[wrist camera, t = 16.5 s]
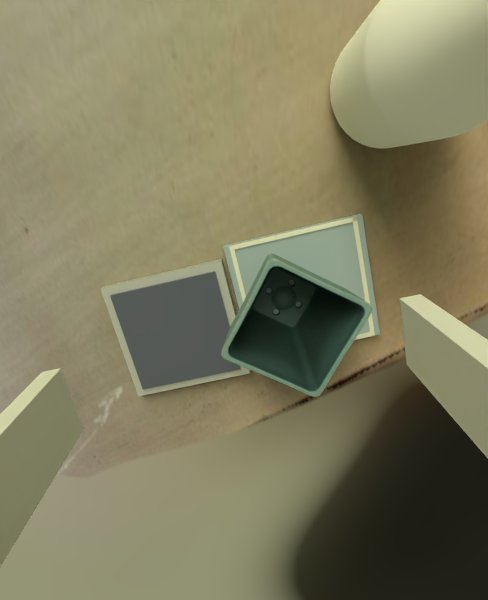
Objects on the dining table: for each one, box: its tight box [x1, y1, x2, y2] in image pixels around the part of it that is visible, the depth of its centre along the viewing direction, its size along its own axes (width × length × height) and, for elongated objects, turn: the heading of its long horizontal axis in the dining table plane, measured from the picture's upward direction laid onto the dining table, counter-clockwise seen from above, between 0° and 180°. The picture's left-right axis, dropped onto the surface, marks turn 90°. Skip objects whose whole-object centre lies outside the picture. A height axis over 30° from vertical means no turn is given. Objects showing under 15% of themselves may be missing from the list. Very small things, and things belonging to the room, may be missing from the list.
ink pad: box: [101, 259, 250, 396], centre depth 41 cm, size 12×12×1 cm
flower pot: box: [221, 254, 372, 397], centre depth 35 cm, size 9×9×9 cm
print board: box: [223, 214, 380, 340], centre depth 40 cm, size 13×12×1 cm
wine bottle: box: [330, 0, 488, 149], centre depth 20 cm, size 10×10×30 cm
